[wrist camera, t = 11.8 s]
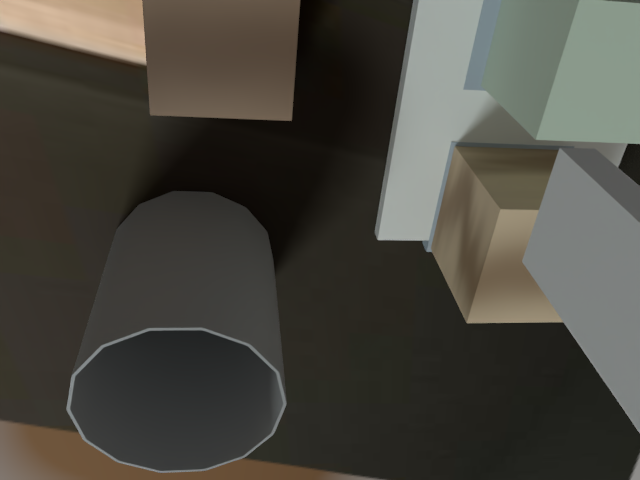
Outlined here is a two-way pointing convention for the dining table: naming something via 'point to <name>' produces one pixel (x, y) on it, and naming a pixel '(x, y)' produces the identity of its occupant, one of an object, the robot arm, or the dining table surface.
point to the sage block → (568, 68)
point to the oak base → (493, 232)
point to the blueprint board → (446, 114)
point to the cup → (182, 339)
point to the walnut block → (221, 57)
